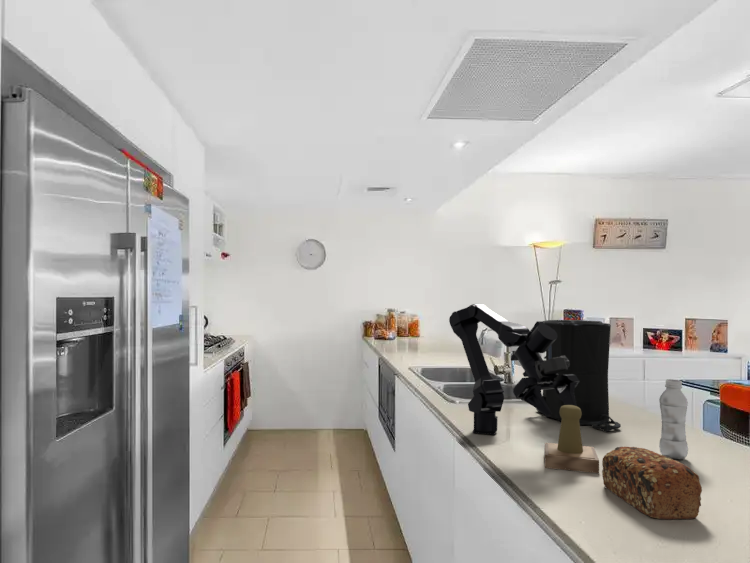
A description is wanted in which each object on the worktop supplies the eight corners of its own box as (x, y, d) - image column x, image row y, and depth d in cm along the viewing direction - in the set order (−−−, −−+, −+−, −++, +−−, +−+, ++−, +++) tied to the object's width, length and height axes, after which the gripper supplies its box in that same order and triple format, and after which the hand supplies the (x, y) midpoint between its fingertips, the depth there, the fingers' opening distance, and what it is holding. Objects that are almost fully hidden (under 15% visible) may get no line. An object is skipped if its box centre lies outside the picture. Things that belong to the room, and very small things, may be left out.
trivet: (545, 467, 131) (545, 454, 131) (544, 454, 142) (544, 441, 142) (599, 473, 127) (599, 459, 127) (593, 458, 139) (593, 446, 139)
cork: (580, 455, 131) (580, 409, 131) (554, 450, 134) (555, 406, 134) (585, 449, 136) (585, 405, 136) (560, 445, 139) (560, 402, 139)
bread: (703, 521, 101) (703, 467, 101) (648, 521, 100) (648, 467, 101) (646, 485, 120) (646, 440, 120) (599, 486, 119) (599, 440, 119)
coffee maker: (561, 407, 204) (562, 317, 205) (646, 425, 177) (646, 321, 178) (521, 414, 191) (522, 318, 192) (606, 434, 164) (607, 322, 165)
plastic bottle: (678, 463, 136) (678, 383, 137) (653, 455, 142) (653, 379, 143) (693, 460, 139) (694, 381, 140) (669, 453, 145) (669, 377, 146)
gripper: (521, 346, 138) (553, 398, 128) (574, 344, 146) (608, 393, 136) (500, 372, 144) (529, 424, 135) (552, 369, 153) (582, 417, 143)
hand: (563, 413), depth 137 cm, fingers open, 9 cm apart
